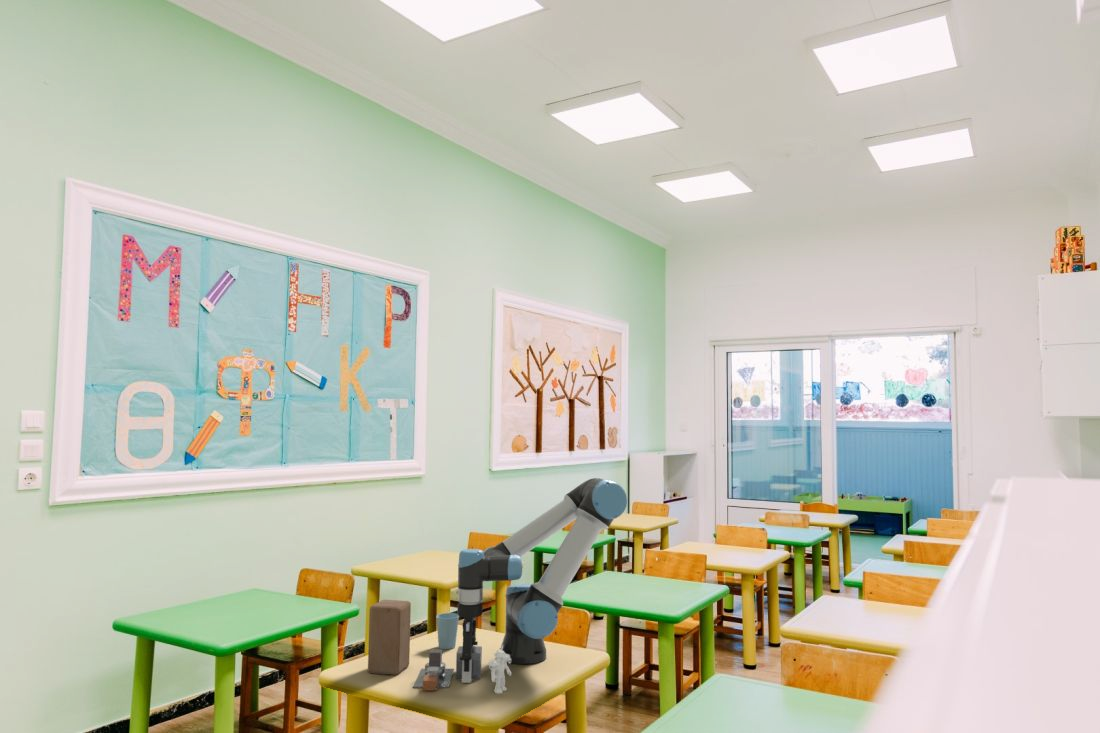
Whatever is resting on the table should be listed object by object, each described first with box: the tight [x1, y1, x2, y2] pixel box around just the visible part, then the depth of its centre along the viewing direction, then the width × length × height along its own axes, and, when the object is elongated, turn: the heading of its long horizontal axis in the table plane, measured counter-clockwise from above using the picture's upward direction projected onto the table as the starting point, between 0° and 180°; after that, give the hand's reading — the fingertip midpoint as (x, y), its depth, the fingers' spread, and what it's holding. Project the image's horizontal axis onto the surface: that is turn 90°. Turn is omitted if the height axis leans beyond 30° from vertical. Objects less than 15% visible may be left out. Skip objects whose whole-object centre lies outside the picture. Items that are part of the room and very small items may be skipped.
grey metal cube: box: [455, 645, 483, 680], centre depth 222 cm, size 7×7×8 cm
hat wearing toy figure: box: [488, 646, 512, 694], centre depth 209 cm, size 9×4×12 cm, turn 148°
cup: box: [435, 612, 460, 650], centre depth 251 cm, size 8×8×10 cm
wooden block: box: [367, 599, 412, 676], centre depth 227 cm, size 10×10×20 cm
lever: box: [412, 648, 455, 691], centre depth 217 cm, size 10×19×7 cm, turn 1°
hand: (468, 674), depth 222 cm, fingers open, 12 cm apart
